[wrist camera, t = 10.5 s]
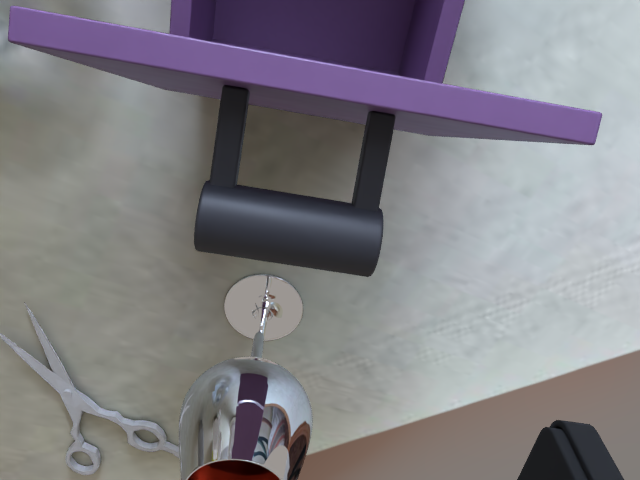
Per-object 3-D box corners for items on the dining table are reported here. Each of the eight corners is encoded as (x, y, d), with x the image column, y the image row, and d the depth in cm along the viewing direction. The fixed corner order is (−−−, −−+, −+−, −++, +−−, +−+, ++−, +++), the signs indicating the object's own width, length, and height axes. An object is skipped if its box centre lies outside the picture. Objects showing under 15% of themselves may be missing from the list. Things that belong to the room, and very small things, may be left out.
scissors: (87, 488, 56) (-53, 334, 47) (90, 481, 56) (-48, 328, 48) (184, 456, 54) (56, 290, 45) (186, 450, 55) (60, 284, 46)
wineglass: (200, 328, 48) (141, 523, 32) (232, 248, 45) (184, 422, 29) (291, 359, 50) (279, 559, 34) (330, 283, 46) (335, 468, 30)
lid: (8, 4, 13) (-7, 240, 14) (604, 112, 14) (550, 323, 15) (165, 73, 29) (153, 179, 30) (433, 120, 31) (413, 220, 32)
